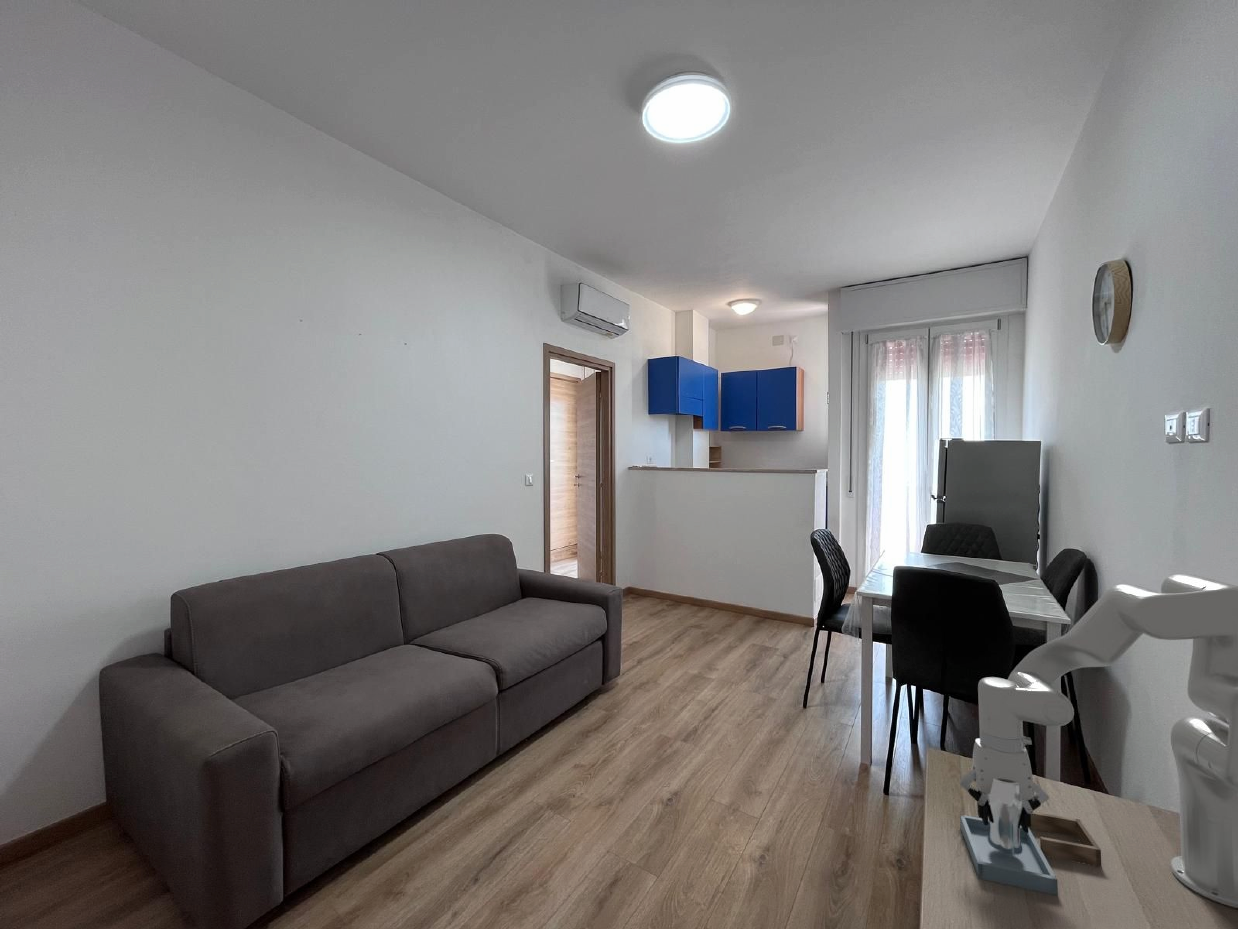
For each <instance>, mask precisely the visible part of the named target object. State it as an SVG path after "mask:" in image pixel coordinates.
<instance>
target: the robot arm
mask: <svg viewBox="0 0 1238 929" xmlns="http://www.w3.org/2000/svg"><path fill="white" fill-rule="evenodd" d="M1143 634H1144V635H1146V636H1148V637H1150V638H1154V639H1157V640H1164V641H1166V640H1167V641H1176V640H1178V641H1181V640H1182V641H1183V640H1192V652H1191V660H1190V666H1189V671H1188V672H1189V674H1188V680H1187V695H1188V698H1189V699H1190V701H1191V703H1192V704H1194V705H1195V706H1196V707H1198V708H1199V709H1200V710H1202V711H1203V712H1204V713H1207V714H1208V715H1210V716H1211V717H1213V718H1215V719H1217V720H1219V721H1221V722H1222V723H1221V722H1218V721H1215V720H1213V719H1209V718H1207V717H1202V716H1187V717H1183V718H1181V719H1178V720H1177V721H1176V723H1175V724H1174V725H1173V726H1172V728H1171V731H1170V744H1171V749H1172V754H1173V757H1174V759H1175V760H1174V761H1175V765H1176V768H1177V769H1176V770H1177V778H1178V800H1179V805H1178V806H1179V828H1180V831H1179V832H1180V834H1179V835H1180V852H1181V853H1180V856H1175V857H1173V858H1172V859H1171V860H1170V868H1171V872H1172V874H1173V875H1174V877H1176V878H1177V879H1178V880H1179V881H1180V882H1181V883H1182V884H1184V885H1185V886H1186V887H1188V888H1189V889H1190V890H1192V891H1193V892H1196V893H1198V894H1199V895H1201V896H1203V897H1205V898H1207V899H1210V900H1211V901H1214V902H1217V903H1219V904H1222V905H1225V906H1228V907H1232V908H1234V909H1235V908H1236V909H1238V585H1233V584H1230V583H1228V582H1227V583H1226V582H1222V581H1217V580H1215V579H1211V578H1207V577H1204V576H1198V575H1196V574H1195V575H1194V574H1188V573H1187V574H1186V573H1178V574H1171V575H1170V576H1168V577H1166V578H1165V579H1164V580H1163V582H1162V584H1161V586H1160V591H1155V590H1152V589H1149V588H1145V587H1142V586H1139V585H1134V584H1128V583H1121V584H1120V583H1119V584H1116V585H1113V586H1111V587H1110V588H1108V589H1107V590H1106V591H1105V592H1104V593H1103V594H1102V595H1101V596H1100V597H1099V598H1098V600H1096V602H1095V603H1094V604H1093V605H1092V606H1091V607H1090V608H1089V609H1088V610H1087V612H1086V613H1085V614H1083V615H1082V617H1081V618H1080V619H1079V620H1078V621H1077V622H1076V623H1075V624H1074V625H1073V627H1071V628H1070V630H1069V631H1068V632H1067V633H1065V634H1064V635H1062V636H1059V637H1057V638H1055V639H1053V640H1050V641H1048V642H1047V643H1044V644H1042V645H1040V646H1037V647H1036V648H1034V649H1033V650H1031V651H1030V652H1028V654H1027V655H1025V656H1024V657H1023V658H1022V660H1021V661H1020V662H1019V663H1018V664H1017V665H1016V666H1015V667H1014V669H1013V670H1012V671H1011V672H1010V674H1009V676H1008V678H1007V679H1005V678H1001V677H998V676H997V677H995V676H989V677H988V676H987V677H983V678H981V679H980V680H979V681H978V683H977V684H978V685H977V692H978V693H977V694H978V696H977V697H978V698H977V699H978V725H979V738H975V740H974V741H975V742H974V743H973V751H972V762H971V763H972V765H971V766H972V767H971V770H970V771H969V772H967V773H966V774H965V775H963V776H961V777H960V778H959V779H958V781H959V784H960V785H961V786H962V788H964V789H965V791H966V792H967V793H968V794H969V795H970V796H971V797H972V798H973V799H974V800H975V801H976V804H977V816H978V818H982V821H983V823H984V825H988V820H989V819H988V807H987V805H986V801H987V794H990V792H991V788H992V784H993V779H998V780H1000V781H1004V782H1019V787H1020V791H1021V795H1022V800H1024V808H1023V815H1022V820H1021V827H1022V829H1023V831H1024V832H1026V833H1029V831H1028V827H1031V814H1032V813H1033V812H1035V811H1036V809H1039V808H1040V807H1041V805H1042V804H1043V803H1045V802H1047V801H1048V800H1049V799H1050V796H1049V795H1048V793H1047V792H1046V791H1045V790H1044V789H1043V788H1042V787H1040V785H1038V783H1036V782H1035V781H1034V779H1033V772H1032V767H1031V766H1032V765H1031V760H1030V758H1029V754H1028V750H1027V748H1026V745H1030V746H1031V745H1033V744H1032V743H1033V742H1032V739H1031V737H1027V736H1025V735H1024V729H1023V728H1024V727H1023V721H1024V722H1028V723H1033V724H1037V725H1043V726H1046V727H1063V726H1065V725H1067V724H1069V723H1070V722H1071V721H1073V718H1074V716H1075V709H1074V707H1073V703H1072V702H1071V701H1070V700H1069V698H1068V697H1067V696H1066V695H1064V693H1062V692H1061V691H1059V690H1058V689H1057V688H1055V687H1054V686H1053V685H1054V684H1055V682H1057V681H1058V679H1060V678H1061V677H1062V676H1064V675H1065V674H1067V673H1068V672H1071V671H1073V670H1076V669H1077V670H1078V669H1081V668H1103V667H1111V666H1113V665H1115V664H1116V663H1117V661H1119V660H1120V658H1121V657H1122V656H1123V655H1124V654H1125V653H1126V652H1127V651H1128V650H1129V649H1130V648H1131V647H1132V646H1133V645H1134V643H1136V641H1138V639H1139V638H1140V637H1141V636H1142V635H1143ZM1223 723H1225V724H1226V725H1228V726H1226V725H1224V724H1223ZM974 782H975V784H976V787H977V790H976V789H975V788H974V787H973V785H971V784H972V783H974ZM1035 793H1036V794H1035Z"/></svg>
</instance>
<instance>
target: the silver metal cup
mask: <svg viewBox="0 0 1238 929" xmlns="http://www.w3.org/2000/svg"><path fill="white" fill-rule="evenodd" d="M986 805H987V807H988V820H989V831H988V836H987V841H988V843H989V844H990V845H991V846H992V847H993V848H994V849H996V850H998V851H1000V852H1002V853H1004V854H1008V855H1019V854H1021V853H1022V851H1023V848H1022V844H1021V840H1020V825H1021V820H1022V815H1023V808H1024V800H1022V795H1021V791H1020V787H1019V782H1004V781H1000V780H998V779H993V784H992V788H991V792H990V794H987V801H986Z"/></svg>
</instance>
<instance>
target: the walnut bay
mask: <svg viewBox="0 0 1238 929" xmlns="http://www.w3.org/2000/svg"><path fill="white" fill-rule="evenodd" d="M1029 829H1030V830H1036V831H1042V832H1047V833H1053V834H1058V835H1063V836H1064V835H1065V836H1069V835H1070V837H1074V836H1076V837H1075V838H1077V839H1078V841H1079V840H1080V841H1079V842H1080V843H1076V842H1071V841H1066V840H1061V839H1055V838H1050V837H1044V836H1040V837H1039V841H1040V842H1039V844H1040V845H1039V847H1040V849H1041V851H1042V853H1043V854H1044V856H1045V857H1048V858H1054V859H1058V860H1064V861H1068V862H1073V863H1077V862H1078V864H1082V863H1085V864H1084V865H1088V864H1089V865H1088V866H1093V865H1095V866H1094V867H1098V866H1101V867H1102V852H1101V851H1102V849H1101V848H1100V846H1098V844H1097V842H1096V841H1095V839H1094V838H1093V836H1092V835H1091V834H1090V832H1089V831H1088V830H1087V828H1086V827H1085V825H1084V824H1083V822H1082V821H1081V820H1080V819H1078V818H1072V817H1071V818H1070V817H1066V816H1060V815H1054V814H1048V813H1043V812H1037V811H1033V813H1032V814H1031V827H1029ZM1081 843H1082V844H1081ZM1079 862H1080V863H1079Z"/></svg>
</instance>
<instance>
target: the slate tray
mask: <svg viewBox="0 0 1238 929" xmlns="http://www.w3.org/2000/svg"><path fill="white" fill-rule="evenodd" d="M959 826H960V831H961V833H962V836H963V840H964V842H965V845H966V847H967V850H968V853H969V856H970V858H971V861H972V864H973V866H974V869H975V873H976V875H977V878H978V879H980V880H986V881H990V882H995V883H999V884H1004V885H1009V886H1013V887H1017V888H1018V887H1019V888H1022V889H1025V890H1026V889H1027V890H1031V891H1036V892H1040V893H1045V894H1051V895H1054V896H1059V894H1058V893H1059V887H1058V882H1059V881H1058V878H1057V877H1056V874H1055V872H1054V871H1053V869H1052V867H1051V866H1050V864H1049V861H1048V859H1047V858H1046V856H1044V854H1043V853H1042V851H1041V849H1040V845H1039V844H1038V842H1037V840H1036V838H1035V836H1034V835H1033V832H1032V830H1031V829H1030V828H1029V827H1028V831H1029V833H1026V832H1024V831H1023V829H1022V827H1021V825H1020V840H1021V844H1022V848H1023V851H1022V853H1021V854H1019V855H1008V854H1004V853H1002V852H1000V851H998V850H996V849H994V848H993V847H992V846H991V845H990V844H989V843H988V841H987V836H988V831H989V819H988V825H984V823H983V821H982V818H979V817H975V816H970V815H965V814H959Z"/></svg>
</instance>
